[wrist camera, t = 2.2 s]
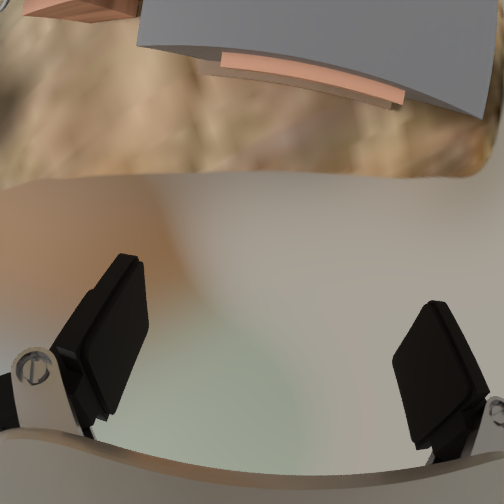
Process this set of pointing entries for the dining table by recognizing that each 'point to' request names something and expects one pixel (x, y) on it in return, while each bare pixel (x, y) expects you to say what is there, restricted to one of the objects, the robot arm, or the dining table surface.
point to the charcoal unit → (338, 45)
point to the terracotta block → (81, 9)
